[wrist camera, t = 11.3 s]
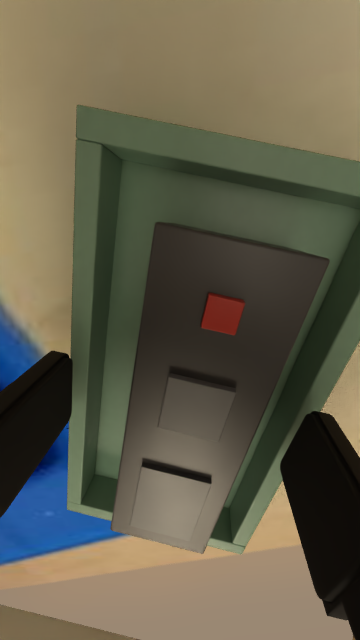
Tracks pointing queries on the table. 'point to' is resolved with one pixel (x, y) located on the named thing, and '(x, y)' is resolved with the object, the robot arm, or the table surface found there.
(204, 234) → the remote
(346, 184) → the tray
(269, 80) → the table surface
